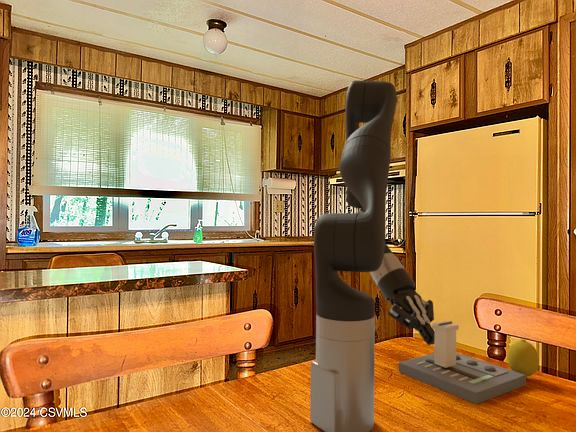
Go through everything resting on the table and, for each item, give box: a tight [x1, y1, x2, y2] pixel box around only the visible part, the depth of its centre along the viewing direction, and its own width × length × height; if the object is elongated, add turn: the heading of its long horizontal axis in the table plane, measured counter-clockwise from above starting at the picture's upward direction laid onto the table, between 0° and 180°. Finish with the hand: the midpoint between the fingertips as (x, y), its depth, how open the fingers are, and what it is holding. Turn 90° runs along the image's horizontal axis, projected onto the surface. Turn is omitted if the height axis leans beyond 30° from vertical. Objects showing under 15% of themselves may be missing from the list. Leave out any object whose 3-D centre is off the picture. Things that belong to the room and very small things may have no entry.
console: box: [398, 352, 527, 405], centre depth 86 cm, size 16×18×3 cm
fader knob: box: [431, 321, 460, 368], centre depth 87 cm, size 4×3×8 cm
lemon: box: [507, 338, 540, 378], centre depth 86 cm, size 6×6×8 cm
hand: (433, 342), depth 89 cm, fingers closed
